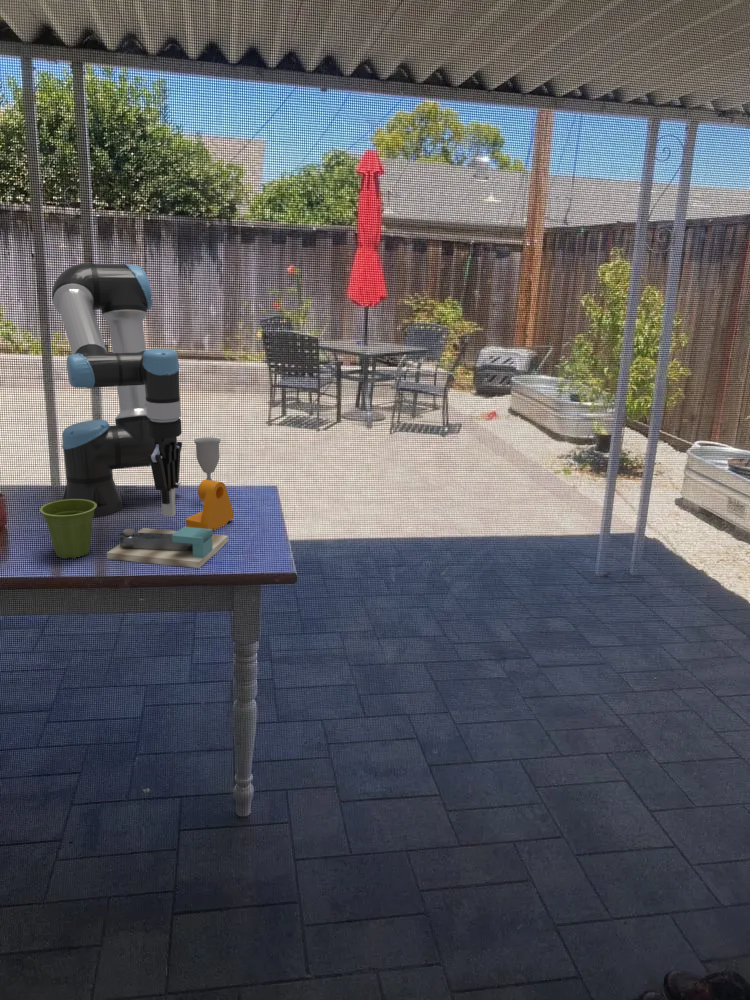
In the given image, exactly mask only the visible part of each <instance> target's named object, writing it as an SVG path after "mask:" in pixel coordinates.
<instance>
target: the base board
mask: <svg viewBox="0 0 750 1000" xmlns="http://www.w3.org/2000/svg"><path fill="white" fill-rule="evenodd" d="M177 531H178V530H173V529H172V530H170V529H158V528H148V527H142V528H141V529H140V530H138V531H136V529H135V528H126V529H123V530H122V533H123V535H125V536H131V535H134V534H135V532H137V533H158V534H175V533H176V532H177ZM227 543H229V535H224V534H223V535H222V534H214V533H213V536H212V548H213V550H212V551H211V552H210V553H209V554H207V555H206V556H205V557H204V558H201V557H193V550H191V551H185V550H162V549H139V548H132V549H124V548H121V547H120V543H119V544H117V545H116V546H114V547H113V548H112V549H110V550H109V551H107V552H106V557H107V560H115V561H122V562H123V561H126V562H135V563H144V564H154V565H164V566H172V567H173V566H174V567H183V568H192V569H200V568H202V566H204V565H205V564H206V563H207V562H208V561H209V560H210V559H211V558H213V556H214V555H216V553H218V552H219V551H220V550H221V549H222V548H223V547H225V545H226V544H227Z"/></svg>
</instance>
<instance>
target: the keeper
mask: <svg viewBox="0 0 750 1000" xmlns="http://www.w3.org/2000/svg"><path fill="white" fill-rule="evenodd" d="M176 531H177V532H176V533H175V534H173V535H172V542H179V543H190V544H193V557H201V558H204V557H205V556H206V555H207V554H209V553H210V552H211V551H212V550H213V548H212V536H213V534H214V532H213V529H203V528H193V527H187V526H182V527H181V528H180V529H178V530H176Z"/></svg>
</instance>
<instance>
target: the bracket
mask: <svg viewBox="0 0 750 1000" xmlns="http://www.w3.org/2000/svg"><path fill="white" fill-rule="evenodd" d="M197 496H198V499H200V500H201V501H202V500H203V501H204V505H202V506H203V508H202V511H200V512H198V513H195V514H192V515H190V516H189V517H186V518H185V527H193V528H203V529H213V530H215V531H216V529H217V528H219V527H221V526H223V525H225V524H227V523H228V522H229V521H231V520H234V518H235V517H234V510H233V506H232V503H231V500H230V497H229V492H228V489H227V487H226V484H225V483H224V482H222V481H217V480H213V479H212V480H206V479H203V480H201V481H200V483H199V485H198V489H197ZM227 525H228V524H227ZM225 526H226V525H225ZM223 527H224V526H223ZM221 528H222V527H221ZM219 529H220V528H219ZM217 530H218V529H217Z"/></svg>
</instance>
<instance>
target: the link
mask: <svg viewBox="0 0 750 1000" xmlns="http://www.w3.org/2000/svg"><path fill="white" fill-rule="evenodd" d="M137 532H138V531H135V534H134V535H131V536H125V535H123V532H122V533H120V534H119V535H118V536H119V544H120V547H121V548H124V549H132V548H139V549H162V550H185V551H191V550H193V544H190V543H179V542H172V535H173V534H158V533H137Z"/></svg>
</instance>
